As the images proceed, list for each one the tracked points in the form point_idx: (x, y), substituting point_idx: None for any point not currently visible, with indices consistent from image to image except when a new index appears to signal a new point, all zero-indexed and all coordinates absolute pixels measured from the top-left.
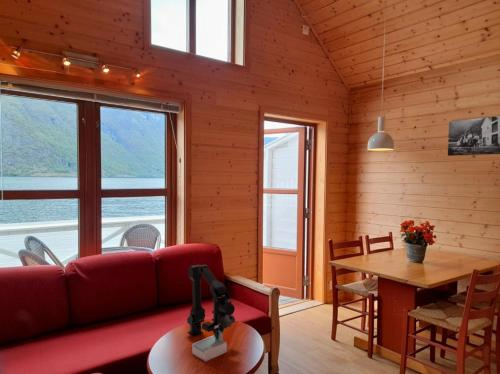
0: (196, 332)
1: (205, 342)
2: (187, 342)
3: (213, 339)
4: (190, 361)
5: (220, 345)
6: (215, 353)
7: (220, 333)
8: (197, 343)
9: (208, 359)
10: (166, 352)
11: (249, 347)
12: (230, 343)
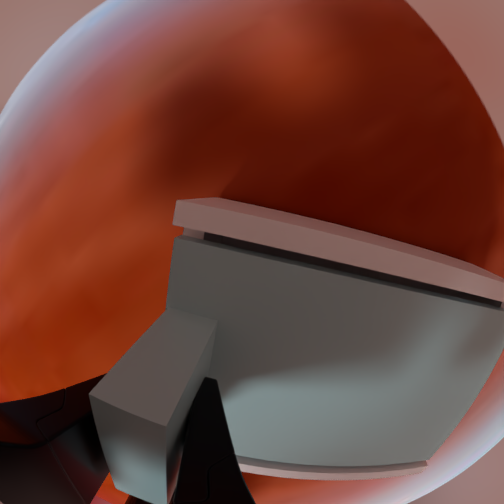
0: (170, 500)
1: (350, 440)
2: (271, 494)
3: (227, 419)
4: None
5: (332, 233)
6: (394, 242)
7: (161, 414)
8: (396, 463)
9: (454, 258)
10: (411, 483)
11: (54, 101)
12: (76, 273)
